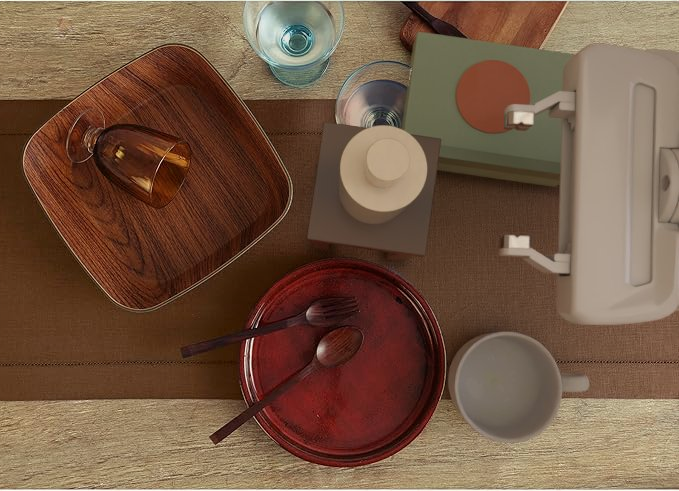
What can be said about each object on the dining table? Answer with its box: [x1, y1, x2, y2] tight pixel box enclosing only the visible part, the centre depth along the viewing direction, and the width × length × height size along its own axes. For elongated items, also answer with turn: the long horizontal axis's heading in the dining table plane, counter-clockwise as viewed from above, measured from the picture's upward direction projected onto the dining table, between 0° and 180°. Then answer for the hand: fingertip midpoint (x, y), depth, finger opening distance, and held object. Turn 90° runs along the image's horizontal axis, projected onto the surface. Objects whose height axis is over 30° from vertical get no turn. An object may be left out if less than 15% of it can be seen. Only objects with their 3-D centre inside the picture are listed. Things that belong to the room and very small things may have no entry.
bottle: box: [338, 124, 427, 224], centre depth 45 cm, size 6×6×12 cm
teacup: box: [447, 331, 590, 445], centre depth 64 cm, size 14×11×8 cm
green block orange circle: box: [401, 31, 576, 188], centre depth 66 cm, size 14×18×7 cm
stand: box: [306, 121, 441, 261], centre depth 60 cm, size 10×10×18 cm
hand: (503, 180), depth 44 cm, fingers open, 8 cm apart
